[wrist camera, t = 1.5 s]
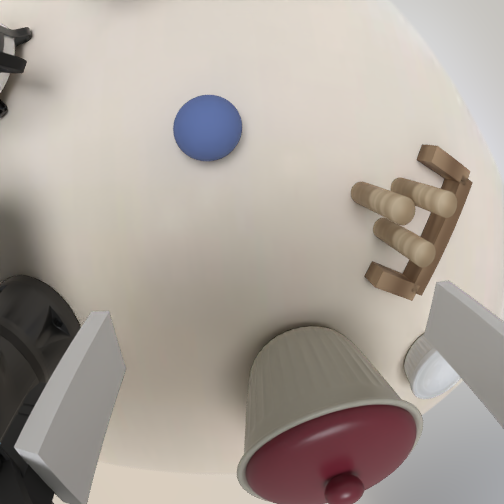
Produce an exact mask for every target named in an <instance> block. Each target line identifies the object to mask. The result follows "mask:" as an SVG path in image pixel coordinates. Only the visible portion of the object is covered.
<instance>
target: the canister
mask: <svg viewBox="0 0 504 504" xmlns="http://www.w3.org/2000/svg"><path fill="white" fill-rule="evenodd" d="M422 429H423V419H422V415H421V413H420V412H419V410H418V409H417V408H416V407H415V406H414V405H413V404H411V403H409V402H407V401H404V400H402V399H401V398H400V397H399V396H398V395H397V393H396V392H395V391H394V390H393V388H392V387H391V386H390V385H389V384H388V383H387V381H386V380H385V379H384V378H383V377H382V376H381V374H380V373H379V372H378V371H377V370H376V368H375V367H374V366H373V365H372V364H371V362H370V361H369V360H368V359H367V358H366V357H365V356H364V355H363V354H362V352H361V351H360V350H359V349H358V348H357V347H356V346H355V345H354V344H353V343H352V342H351V341H350V340H349V339H347V338H346V337H345V336H344V335H342V334H340V333H338V332H337V331H335V330H330V329H329V328H326V327H319V326H316V327H312V326H308V327H300V328H297V329H292V330H290V331H287V332H284V333H283V334H281V335H278V336H277V337H276V338H274V339H273V340H270V342H269V343H268V344H267V345H265V346H264V347H263V349H262V350H261V351H260V352H259V353H258V355H257V357H256V358H255V360H254V362H253V366H252V368H251V371H250V377H249V384H248V395H247V408H246V428H245V444H244V455H243V456H242V458H241V460H240V462H239V464H238V468H237V478H238V481H239V483H240V485H241V486H242V487H243V489H244V490H246V491H247V492H248V493H249V494H251V495H253V496H255V497H257V498H259V499H262V500H265V501H270V502H273V503H277V504H325V503H329V504H353V503H355V502H356V501H358V500H359V499H360V498H361V496H362V495H363V493H364V490H366V489H368V488H370V487H372V486H374V485H375V484H377V483H379V482H380V481H382V480H383V479H384V478H386V477H387V476H388V475H390V474H391V473H392V472H394V471H395V470H396V469H397V468H398V467H399V466H400V465H401V464H402V463H403V462H404V460H405V459H406V458H407V456H408V455H409V454H410V452H411V451H412V450H413V448H414V447H415V446H416V444H417V442H418V440H419V438H420V436H421V433H422Z"/></svg>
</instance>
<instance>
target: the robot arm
mask: <svg viewBox="0 0 504 504" xmlns="http://www.w3.org/2000/svg"><path fill="white" fill-rule="evenodd" d="M424 337H425V338H426V339H427V340H428V341H429V343H430V344H431V345H432V346H433V347H434V348H435V349H436V350H437V351H438V352H439V354H440V355H441V356H442V357H443V358H444V359H445V360H446V361H447V362H448V364H449V365H450V366H451V367H452V368H453V369H454V370H455V371H456V373H457V374H458V375H459V376H460V377H461V378H462V379H463V381H464V382H465V383H466V384H467V385H468V386H469V388H470V389H471V390H472V391H473V392H474V393H475V394H476V396H477V397H478V398H479V399H480V401H481V402H482V403H483V404H484V405H485V407H486V408H487V409H488V410H489V411H490V413H491V414H492V415H493V416H494V418H495V419H496V420H497V421H498V422H499V424H500V425H501V426H502V427H503V429H504V321H502V320H501V319H500V318H498V317H497V316H496V315H495V314H493V313H492V312H491V311H490V310H488V309H487V308H486V307H484V306H483V305H482V304H480V303H479V302H478V301H476V300H475V299H474V298H472V297H471V296H470V295H468V294H467V293H466V292H464V291H463V290H462V289H460V288H459V287H457V286H456V285H455V284H453V283H452V282H450V281H449V280H448V281H442V282H436V286H435V291H434V296H433V300H432V305H431V309H430V314H429V318H428V322H427V326H426V330H425V333H424ZM125 371H126V366H125V363H124V360H123V357H122V354H121V350H120V347H119V344H118V340H117V337H116V334H115V330H114V327H113V323H112V319H111V315H110V312H109V311H91V313H90V314H89V316H88V318H87V319H86V321H85V322H84V324H83V325H82V327H81V328H80V326H79V324H78V321H77V319H76V317H75V315H74V314H73V312H72V310H71V309H70V307H69V306H68V305H67V303H66V302H65V301H64V300H63V299H62V297H61V296H60V295H59V294H58V293H57V292H55V291H54V290H53V289H52V288H51V287H49V286H48V285H46V284H45V283H43V282H41V281H39V280H37V279H35V278H32V277H29V276H22V275H19V276H13V277H10V278H8V279H7V280H5V281H4V282H3V283H1V284H0V504H54V503H53V502H52V499H53V496H54V493H55V494H56V495H57V496H58V497H59V498H60V499H61V500H62V501H63V502H65V503H69V504H87V502H88V498H89V493H90V489H91V485H92V481H93V477H94V473H95V469H96V465H97V462H98V458H99V455H100V451H101V447H102V444H103V440H104V437H105V434H106V430H107V427H108V424H109V420H110V417H111V414H112V411H113V407H114V404H115V401H116V398H117V395H118V392H119V389H120V386H121V383H122V380H123V377H124V374H125Z"/></svg>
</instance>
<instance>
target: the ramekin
mask: <svg viewBox="0 0 504 504" xmlns="http://www.w3.org/2000/svg"><path fill="white" fill-rule="evenodd" d="M404 369H405V373H406V375H407V378H408V380H409V383H410V387H411V390H412V392H413V394H414V395H415V396H416V397H418V398H420V399H430V398H434V397H436V396H439V395H441V394H443V393H444V392H446V391H447V390H449V389H450V388H451V387H452V386H454V385H455V384H456V383H457V382H458V381H459V380H460V378H461V377H460V376H459V375H458V374H457V373H456V371H455V370H454V369H453V368H452V367H451V366H450V365H449V364H448V362H447V361H446V360H445V359H444V358H443V357H442V356H441V355H440V354H439V352H438V351H437V350H436V349H435V348H434V347H433V346H432V345H431V344H430V343H429V341H428V340H427V339H426V338H425V337H424V334H423V335H422V336H420V337H419V338H418V339H417V340H416V341H415V342H414V344H413V345H412V346H411V348H410V349H409V351H408V353H407V356H406V359H405V364H404Z"/></svg>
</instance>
